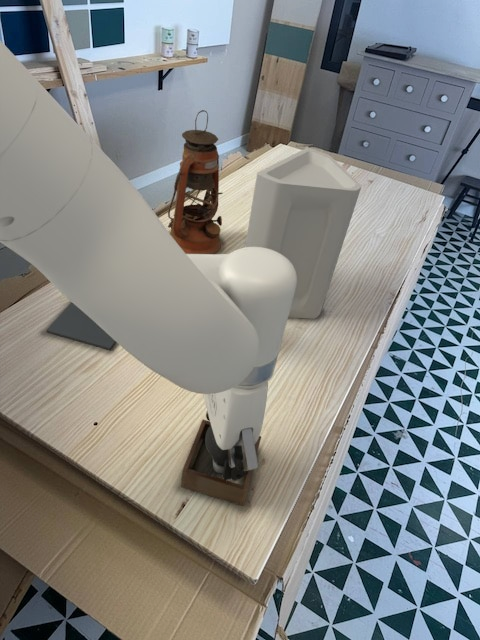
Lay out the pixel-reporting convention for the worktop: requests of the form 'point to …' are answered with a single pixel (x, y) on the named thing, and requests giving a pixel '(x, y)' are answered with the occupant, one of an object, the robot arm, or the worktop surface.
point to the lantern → (198, 174)
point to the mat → (80, 328)
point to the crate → (210, 483)
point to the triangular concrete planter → (304, 221)
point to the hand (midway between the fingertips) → (225, 445)
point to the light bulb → (218, 451)
